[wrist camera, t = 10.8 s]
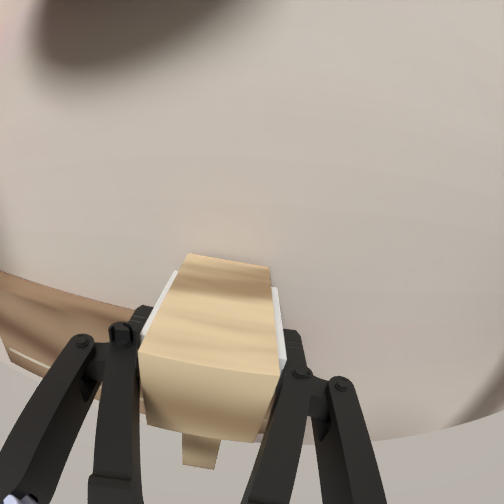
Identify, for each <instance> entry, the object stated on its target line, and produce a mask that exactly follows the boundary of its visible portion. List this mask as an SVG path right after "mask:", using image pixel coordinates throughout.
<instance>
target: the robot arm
mask: <svg viewBox="0 0 504 504" xmlns="http://www.w3.org/2000/svg"><path fill="white" fill-rule="evenodd" d="M178 272H179V271H176V270H174V272H173V274H172V276H171V277H170V279H169V281H168V283H167V285H166V286H165V288H164V290H163V292H162V294H161V295H160V297H159V299H158V301H157V303H156V305H155V306H154V307H150V306H145V305H142V306H140V307H138V308H137V309H136V310H135V311H134V313H133V315H132V316H131V318H130V320H129V321H128V322H124V321H119V322H115V323H113V324H111V325H110V326H109V328H108V332H109V339H110V342H105V343H102V342H94V339H93V337H92V336H90V335H88V334H83V333H82V334H77V335H75V336H73V337H72V338H71V339H70V340H69V342H68V343H67V344H66V346H65V347H64V349H63V350H62V351H61V353H60V354H59V356H58V357H57V359H56V360H55V361H54V363H53V364H52V366H51V367H50V369H49V370H48V372H47V373H46V375H45V376H44V378H43V379H42V381H41V382H40V384H39V386H38V387H37V389H36V390H35V392H34V393H33V395H32V397H31V398H30V400H29V401H28V403H27V405H26V406H25V408H24V410H23V411H22V413H21V415H20V416H19V418H18V420H17V422H16V423H15V425H14V427H13V429H12V431H11V432H10V434H9V436H8V438H7V440H6V442H5V444H4V446H3V447H2V450H1V451H0V504H49V503H50V501H51V499H52V497H53V495H54V492H55V490H56V487H57V484H58V482H59V479H60V476H61V474H62V471H63V469H64V466H65V463H66V461H67V458H68V456H69V453H70V451H71V449H72V446H73V444H74V442H75V439H76V437H77V435H78V432H79V430H80V428H81V426H82V423H83V421H84V419H85V417H86V415H87V412H88V410H89V408H90V406H91V404H92V402H93V400H94V397H95V395H96V393H97V391H98V389H99V387H100V385H101V383H102V388H101V395H100V402H99V410H98V418H97V427H96V437H95V449H94V466H93V473H92V474H91V475H90V476H89V479H88V504H144V502H143V496H142V484H141V468H140V443H139V442H140V435H139V415H140V369H139V360H138V350H139V348H140V346H141V344H142V341H143V339H144V337H145V335H146V333H147V331H148V329H149V327H150V325H151V323H152V321H153V319H154V317H155V315H156V313H157V311H158V310H159V308H160V306H161V304H162V302H163V300H164V298H165V296H166V294H167V292H168V290H169V288H170V287H171V285H172V283H173V281H174V279H175V277H176V275H177V273H178ZM271 289H272V299H273V309H274V318H275V328H276V338H277V349H278V359H279V370H280V378H279V380H278V383H277V386H276V388H275V391H274V393H275V392H276V398H275V400H274V403H273V405H272V408H271V410H270V411H271V413H270V417H269V420H268V423H267V426H266V430H265V433H264V436H263V439H262V442H261V446H260V449H259V452H258V455H257V458H256V461H255V464H254V467H253V470H252V473H251V476H250V479H249V481H248V484H247V487H246V490H245V493H244V495H243V499H242V501H241V504H289V502H290V498H291V493H292V490H293V485H294V481H295V477H296V472H297V467H298V463H299V458H300V453H301V448H302V443H303V437H304V432H305V426H306V420H307V416H310V417H311V420H312V427H313V434H314V441H315V447H316V455H317V462H318V469H319V477H320V485H321V493H322V501H323V504H387V501H386V498H385V493H384V489H383V485H382V481H381V477H380V474H379V470H378V466H377V462H376V459H375V455H374V451H373V448H372V444H371V440H370V437H369V434H368V430H367V427H366V423H365V420H364V417H363V413H362V410H361V407H360V404H359V401H358V397H357V394H356V391H355V388H354V385H353V384H352V382H351V381H350V380H349V379H347V378H345V377H341V376H335V377H333V378H331V379H330V380H329V381H327V380H323V379H320V378H317V377H315V376H314V375H313V373H312V371H311V370H310V369H309V368H308V367H307V365H306V360H305V355H304V350H303V345H302V341H301V336H300V335H299V334H298V332H297V331H296V330H289V329H283V327H282V319H281V312H280V305H279V298H278V291H277V288H276V287H271ZM273 395H274V394H273ZM272 397H273V396H272Z"/></svg>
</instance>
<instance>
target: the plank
mask: <svg viewBox="0 0 504 504" xmlns="http://www.w3.org/2000/svg"><path fill="white" fill-rule="evenodd" d="M134 311H135V310H132V309H127V308H123V307H119V306H115V305H111V304H107V303H103V302H99V301H95V300H92V299H88V298H84V297H81V296H77V295H74V294H70V293H67V292H63V291H60V290H57V289H53V288H50V287H47V286H44V285H41V284H38V283H35V282H31V281H28V280H26V279H23V278H20V277H17V276H14V275H11V274H8V273H6V272H3V271H0V336H1V339H2V341H3V344H4V346H5V349H6V351H7V353H8V356H9V358H10V360H11V362H13V363H15V364H16V365H18V366H20V367H22V368H24V369H26V370H28V371H30V372H32V373H34V374H36V375H38V376H40V377H42V378H44V376H45V375H46V373H47V372H48V370H49V369H50V367H51V366H52V364H53V363H54V361H55V360H56V359H57V357H58V356H59V354H60V353H61V351H62V350H63V349H64V347H65V346H66V344H67V343H68V342H69V340H70V339H71V338H72V337H73V336H75V335H77V334H82V333H83V334H88V335H90V336H92V337H93V339H94V342H102V343H105V342H110V339H109V332H108V328H109V326H110V325H111V324H113V323H115V322H119V321H124V322H128V321H129V320H130V318H131V316H132V315H133V313H134ZM101 388H102V383H101V385H100V387H99V389H98V391H97V393H96V395H95V397H94V399H96V400H99V401H100V395H101ZM275 398H276V392H275V393H274V395H273V397H272V399H271V401H270V404H269V407H268V409H267V412H266V414H265V417H264V419H263V422H262V424H261V427H260V429H259V431H258V433H263V434H264V433H265V430H266V426H267V423H268V420H269V417H270V413H271V411H270V410H271V408H272V405H273V403H274V400H275ZM140 413H142V414H146V413H145V407H144V400H143V393H142V386H141V378H140Z"/></svg>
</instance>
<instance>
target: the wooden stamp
mask: <svg viewBox="0 0 504 504" xmlns="http://www.w3.org/2000/svg"><path fill="white" fill-rule="evenodd" d="M138 360H139V369H140V378H141V386H142V393H143V400H144V407H145V413H146V419H147V425H151V426H155V427H159V428H163V429H168V430H172V431H176V432H181V433H182V450H183V452H182V453H183V465H188V466H194V467H200V468H207V469H213V470H214V468H215V463H216V459H217V455H218V450H219V446H220V441H221V439H223V440H231V441H240V442H251V443H254V441H255V439H256V436H257V434H258V431H259V429H260V427H261V424H262V422H263V419H264V417H265V414H266V412H267V409H268V407H269V404H270V401H271V399H272V396H273V394H274V391H275V388H276V386H277V383H278V380H279V378H280V370H279V359H278V349H277V338H276V328H275V318H274V309H273V299H272V289H271V280H270V270H269V267H266V266H260V265H254V264H248V263H242V262H236V261H230V260H224V259H219V258H213V257H207V256H201V255H195V254H190V253H188V255H187V257H186V259H185V261H184V262H183V264H182V266H181V268H180V270H179V272H178V273H177V275H176V277H175V279H174V281H173V283H172V285H171V287H170V288H169V290H168V292H167V294H166V296H165V298H164V300H163V302H162V304H161V306H160V308H159V310H158V311H157V313H156V315H155V317H154V319H153V321H152V323H151V325H150V327H149V329H148V331H147V333H146V335H145V337H144V339H143V341H142V344H141V346H140V348H139V350H138Z"/></svg>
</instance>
